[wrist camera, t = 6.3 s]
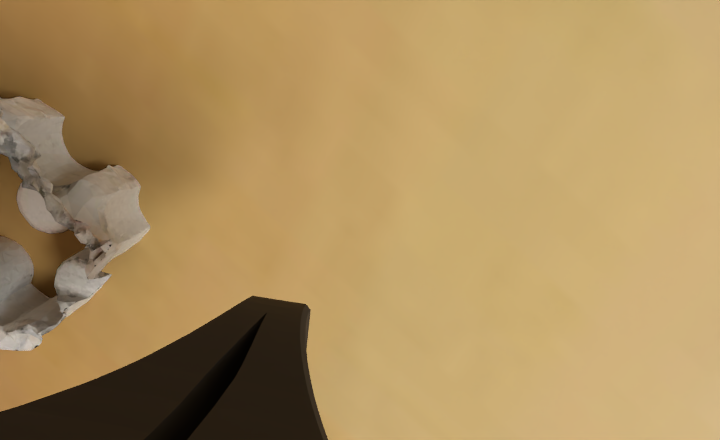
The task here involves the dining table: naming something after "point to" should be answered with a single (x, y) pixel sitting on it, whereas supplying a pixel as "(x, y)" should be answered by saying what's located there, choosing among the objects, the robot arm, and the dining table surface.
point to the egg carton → (59, 221)
